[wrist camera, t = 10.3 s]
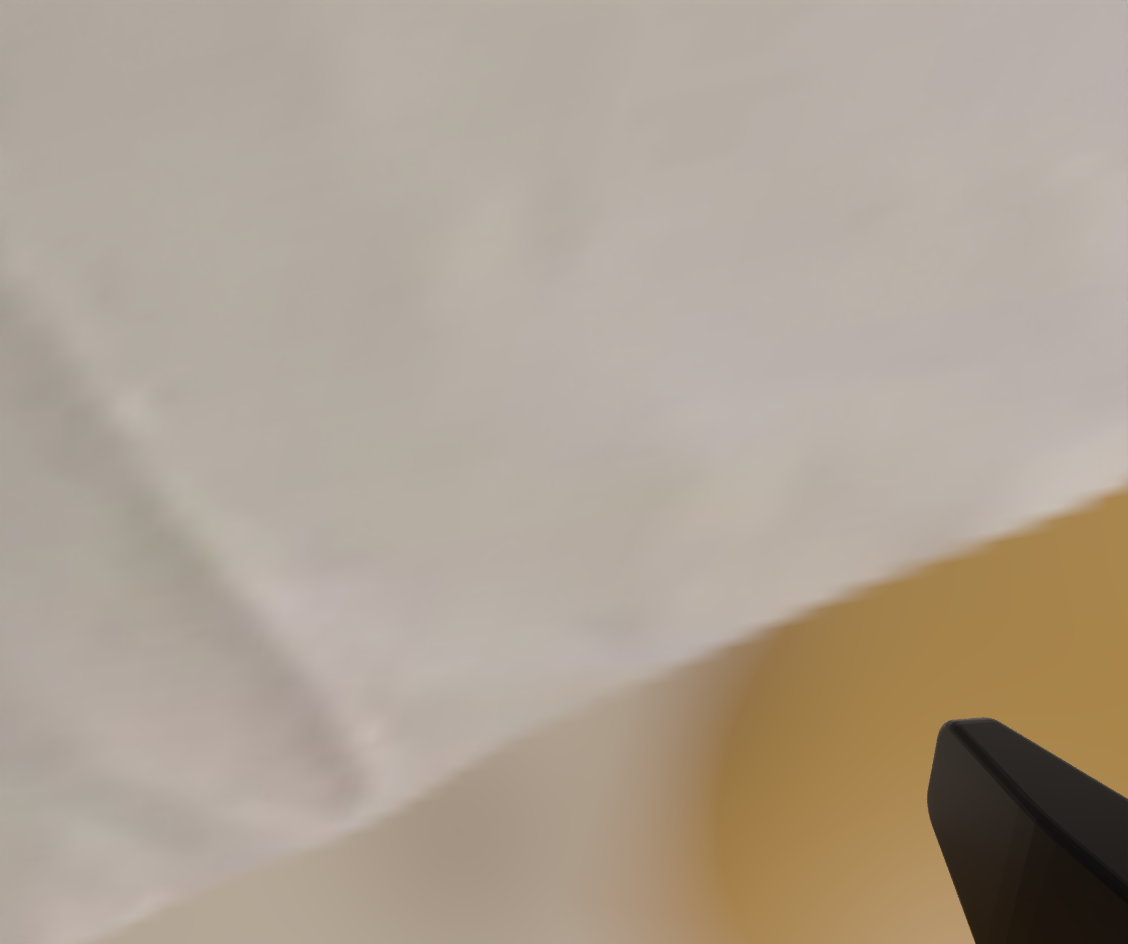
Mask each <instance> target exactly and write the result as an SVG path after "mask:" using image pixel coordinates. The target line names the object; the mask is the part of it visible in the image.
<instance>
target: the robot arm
mask: <svg viewBox="0 0 1128 944" xmlns="http://www.w3.org/2000/svg"><path fill="white" fill-rule="evenodd" d="M927 804H928V811H929V816H930V820H931V823H932V826H933V829H934V832H935V834H936V837H937V840H938V843H939V845H940V848H941V851H942V853H943V856H944V859H945V862H946V865H947V867H948V870H949V873H950V875H951V878H952V881H953V884H954V886H955V889H956V892H957V895H958V897H959V900H960V903H961V906H962V908H963V911H964V914H965V916H966V919H967V921H968V925H969V927H970V930H971V933H972V935H973V938H974V941H975V944H1128V799H1127V798H1125V797H1124V796H1122V795H1120V794H1119V793H1117V792H1115V791H1114V790H1112V789H1110V788H1109V787H1107V786H1105V785H1104V784H1102V783H1100V782H1099V781H1097V780H1095V779H1094V778H1092V777H1090V776H1088V775H1087V774H1086V773H1084V772H1082V771H1080V770H1079V769H1077V768H1076V767H1074V766H1072V765H1070V764H1069V763H1067V762H1066V761H1064V760H1062V759H1061V758H1059V757H1057V756H1056V755H1054V754H1052V753H1051V752H1049V751H1047V750H1045V749H1044V748H1042V747H1040V746H1039V745H1037V744H1036V743H1034V742H1032V741H1031V740H1029V739H1027V738H1025V737H1024V736H1022V735H1021V734H1019V733H1017V732H1015V731H1014V730H1012V729H1010V728H1009V727H1007V726H1006V725H1004V724H1002V723H1001V722H998V721H997V720H995V719H991V718H984V717H983V718H971V719H958V720H950V721H948V722H946V723H944V724H943V725H942V727H941V729H940V731H939V734H938V737H937V743H936V748H935V754H934V760H933V765H932V770H931V776H930V782H929V786H928V794H927Z"/></svg>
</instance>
